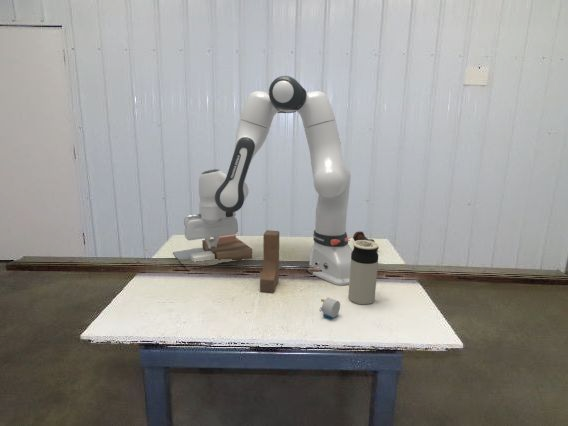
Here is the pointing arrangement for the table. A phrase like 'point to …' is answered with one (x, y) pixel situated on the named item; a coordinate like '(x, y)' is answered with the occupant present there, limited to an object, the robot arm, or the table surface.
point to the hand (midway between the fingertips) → (212, 247)
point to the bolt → (361, 237)
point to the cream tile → (202, 256)
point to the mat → (187, 253)
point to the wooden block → (270, 262)
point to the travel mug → (363, 272)
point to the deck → (229, 250)
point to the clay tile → (226, 238)
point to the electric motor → (330, 307)
